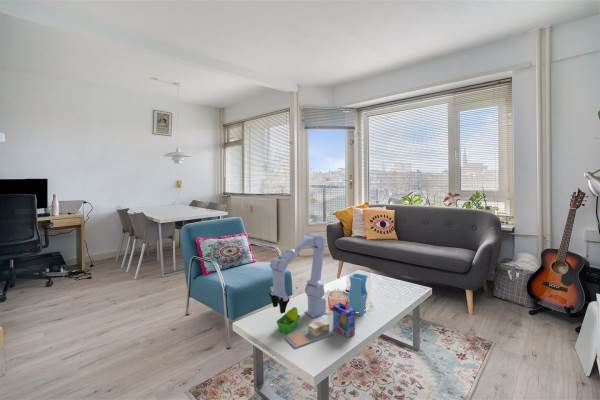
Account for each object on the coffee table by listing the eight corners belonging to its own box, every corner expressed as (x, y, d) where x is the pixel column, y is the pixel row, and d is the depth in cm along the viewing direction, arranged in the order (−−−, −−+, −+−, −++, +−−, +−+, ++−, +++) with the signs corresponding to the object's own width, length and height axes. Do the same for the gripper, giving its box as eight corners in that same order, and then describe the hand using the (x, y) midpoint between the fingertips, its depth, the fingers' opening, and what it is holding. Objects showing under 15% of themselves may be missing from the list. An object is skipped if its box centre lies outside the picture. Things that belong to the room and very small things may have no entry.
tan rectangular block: (323, 327, 144) (323, 319, 144) (329, 331, 140) (329, 323, 140) (308, 332, 139) (308, 324, 139) (313, 337, 136) (313, 328, 135)
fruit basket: (287, 321, 151) (287, 300, 150) (302, 325, 147) (302, 303, 146) (275, 331, 141) (275, 309, 140) (291, 336, 137) (291, 313, 136)
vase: (360, 315, 157) (361, 279, 155) (347, 311, 162) (348, 276, 160) (367, 310, 163) (367, 275, 161) (354, 306, 168) (354, 272, 166)
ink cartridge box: (332, 329, 143) (332, 300, 142) (340, 325, 147) (340, 297, 146) (347, 338, 136) (347, 308, 134) (355, 334, 139) (355, 304, 138)
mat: (321, 325, 147) (321, 324, 147) (333, 334, 139) (333, 333, 139) (284, 338, 135) (284, 337, 135) (295, 348, 127) (295, 347, 127)
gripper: (264, 279, 146) (265, 306, 147) (278, 289, 134) (278, 318, 135) (277, 277, 150) (277, 302, 151) (291, 286, 138) (291, 314, 139)
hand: (279, 309), depth 143 cm, fingers open, 7 cm apart
